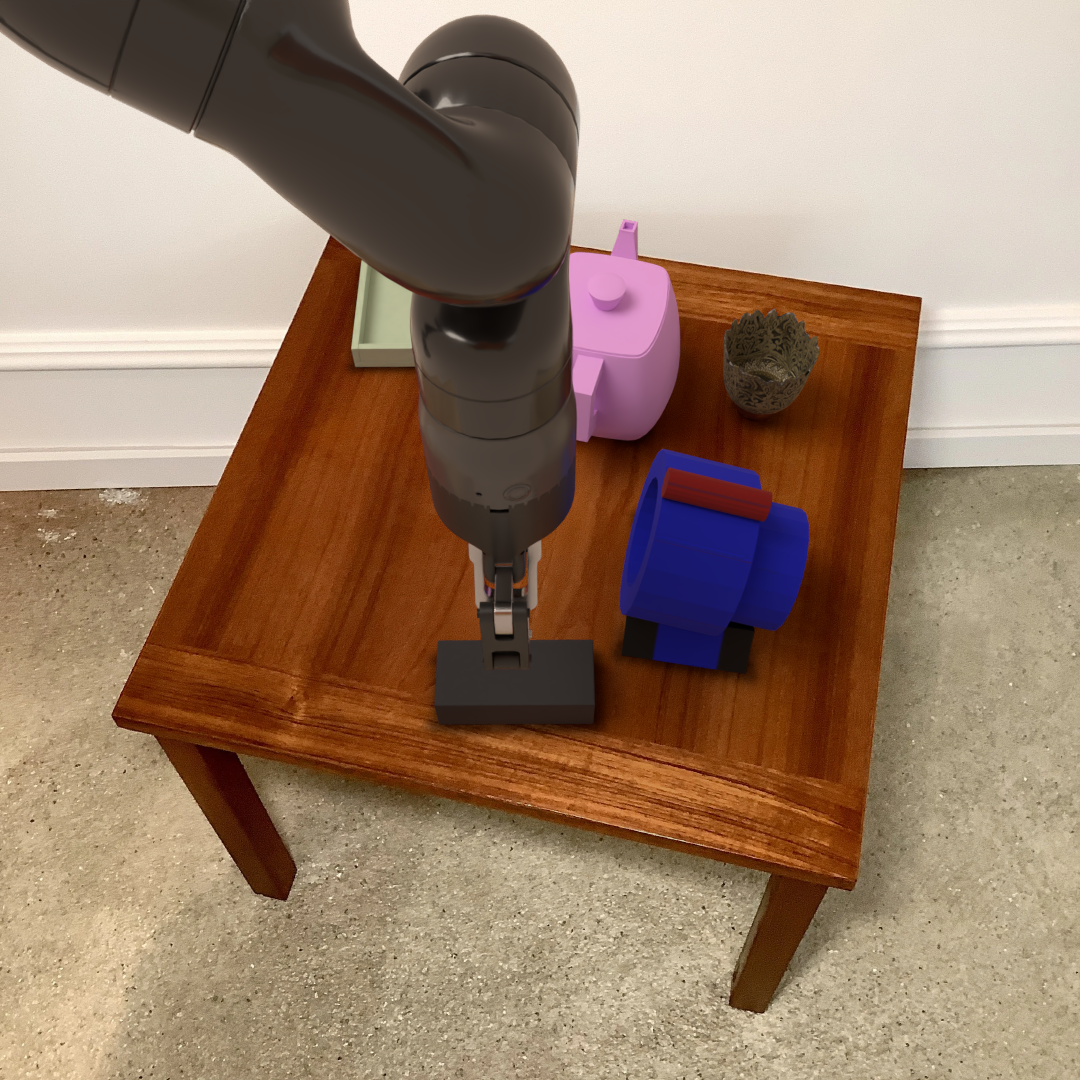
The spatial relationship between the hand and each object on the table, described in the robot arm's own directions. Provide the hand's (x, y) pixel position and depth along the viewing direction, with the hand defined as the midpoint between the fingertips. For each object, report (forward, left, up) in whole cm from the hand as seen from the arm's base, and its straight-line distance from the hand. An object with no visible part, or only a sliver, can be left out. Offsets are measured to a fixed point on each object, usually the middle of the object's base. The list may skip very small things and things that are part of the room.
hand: (511, 597), depth 67 cm
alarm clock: (+14, +8, -14) cm, 21 cm away
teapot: (+7, +28, -14) cm, 32 cm away
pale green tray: (-10, +38, -14) cm, 41 cm away
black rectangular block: (0, 0, -14) cm, 14 cm away
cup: (+20, +26, -14) cm, 35 cm away
